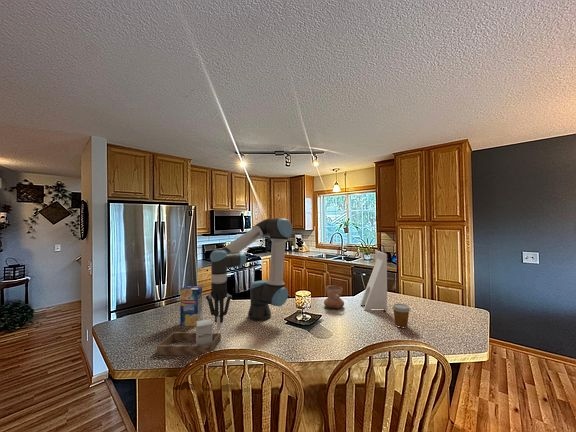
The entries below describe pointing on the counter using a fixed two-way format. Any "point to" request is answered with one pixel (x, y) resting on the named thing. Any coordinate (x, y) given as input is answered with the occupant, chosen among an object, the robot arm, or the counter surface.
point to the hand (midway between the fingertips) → (219, 328)
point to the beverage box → (190, 305)
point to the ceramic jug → (334, 297)
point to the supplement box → (204, 332)
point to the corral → (168, 349)
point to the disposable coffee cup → (401, 314)
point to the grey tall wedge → (377, 285)
